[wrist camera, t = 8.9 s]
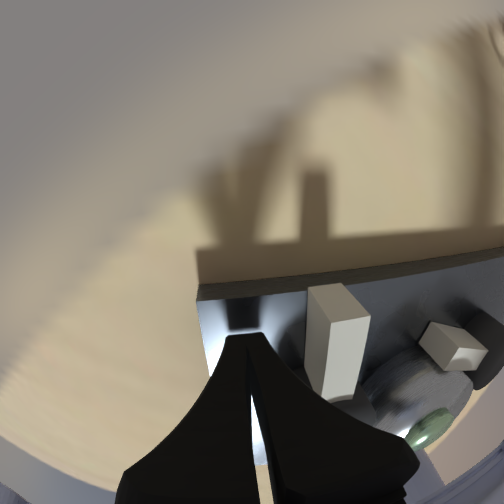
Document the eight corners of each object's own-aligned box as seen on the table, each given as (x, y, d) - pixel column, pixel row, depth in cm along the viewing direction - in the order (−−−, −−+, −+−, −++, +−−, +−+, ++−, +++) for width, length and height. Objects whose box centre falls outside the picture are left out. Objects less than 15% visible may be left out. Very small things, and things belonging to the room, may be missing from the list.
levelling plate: (463, 384, 18) (493, 419, 12) (232, 451, 16) (237, 516, 11) (510, 245, 13) (563, 272, 8) (199, 284, 12) (183, 380, 6)
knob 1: (346, 407, 13) (364, 444, 10) (272, 421, 13) (281, 464, 10) (371, 277, 11) (411, 311, 8) (268, 290, 10) (284, 335, 7)
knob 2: (496, 316, 13) (521, 335, 10) (467, 365, 14) (488, 388, 11) (442, 296, 12) (478, 323, 9) (403, 363, 13) (429, 397, 10)
